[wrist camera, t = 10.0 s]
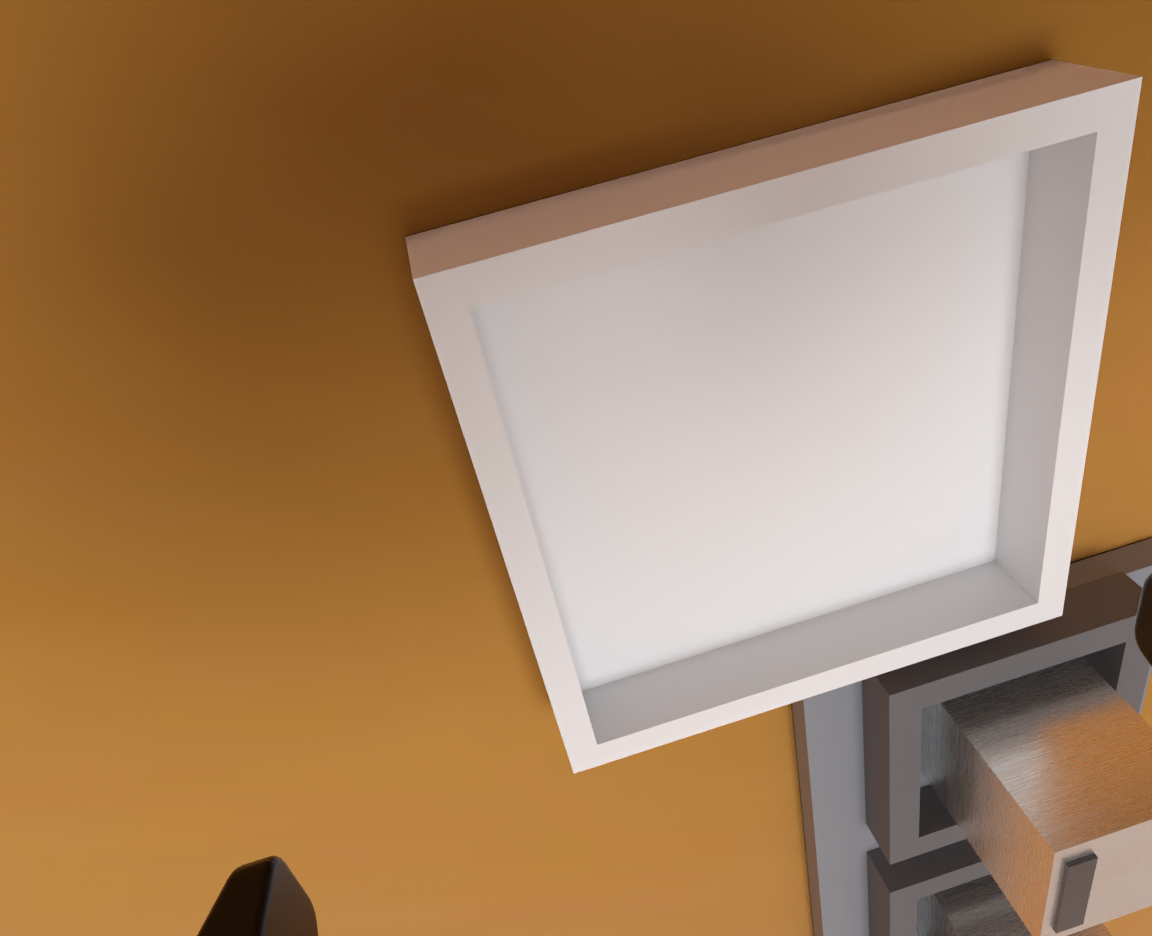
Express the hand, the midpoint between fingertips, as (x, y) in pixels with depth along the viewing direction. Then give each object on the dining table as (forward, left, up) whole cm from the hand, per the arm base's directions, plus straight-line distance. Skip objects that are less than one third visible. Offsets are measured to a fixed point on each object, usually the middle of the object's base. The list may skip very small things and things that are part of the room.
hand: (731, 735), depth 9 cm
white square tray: (-5, +5, -12) cm, 14 cm away
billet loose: (-11, +17, -11) cm, 23 cm away
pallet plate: (-11, +22, -12) cm, 27 cm away
